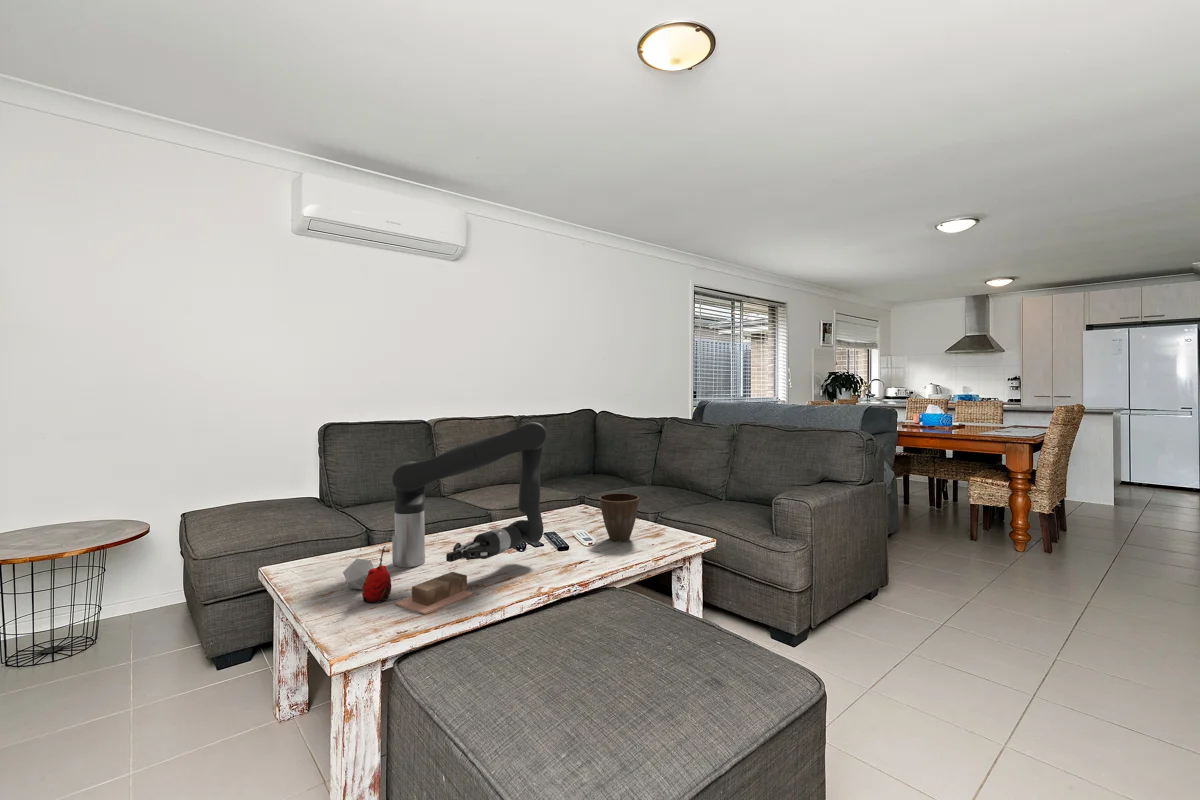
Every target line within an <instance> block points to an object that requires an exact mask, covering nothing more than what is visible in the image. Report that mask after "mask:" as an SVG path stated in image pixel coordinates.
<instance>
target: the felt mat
mask: <svg viewBox="0 0 1200 800" xmlns="http://www.w3.org/2000/svg"><path fill="white" fill-rule="evenodd" d="M472 593H473V592H471V591H467V590H465V591H462V592H460V593H457V594H455V595H453V596H450V597H448V598H445V599H443V600H441V601H438V602H436V603H433V604H431V605H429V606H425V605H422V604H419V603H416V602H413V601H412V596H409V597H407V598H404V599H401V600H399V601H396V602H395V603H394V604H395V605H396V606H398V607H401V608H403V609H407V610H409V611H413V612H415V613H418V614H422V615H424V616H425V615H428V614H430V613H432V612H435V611H437V610H440V609H442V608H444V607H446V606H448V605H449V606H450V605H451V604H454V603H456V602H458V601H460V600H463V599H465V598H467V597H470V596H472V595H473V594H472Z"/></svg>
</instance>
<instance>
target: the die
mask: <svg viewBox="0 0 1200 800" xmlns="http://www.w3.org/2000/svg"><path fill="white" fill-rule="evenodd" d="M372 562H373V561H372V560H370V559H363V558H356V559H354V561H353V562H352V563H350V565H348V566H347V567H346V569H344V571H342V574H343V576H344V578H345V581H346V582H347V585H348V587H349V589H355V590H360V591H361V590H362V591H363V589H362V586H363V584H364V581H365V579H366V577H367V575H368V571H369V570H370V569H374V568H375V567H374V565H373V563H372Z"/></svg>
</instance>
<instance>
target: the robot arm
mask: <svg viewBox="0 0 1200 800" xmlns="http://www.w3.org/2000/svg"><path fill="white" fill-rule="evenodd" d="M546 440H547V430H546V428H545V427H544V425H542V424H541V423H538V422H535V421H531V422H527V423H524V424H523V425H520V426H519V427H516V428H514V429H511V430H508V431H506V432H503V433H500V434H496V435H492V436H488V437H484V438H479V439H476V440H473V441H470V442H466V443H464V444H460V445H457V446H454V447H453V448H451V449H449V450H446V451H444V452H442V453H440V454H438V455H437V456H434V457H431V458H428V459H424V460H422V461H412V460H409V461H405V462H403V463H401V464H400V465H398V466H397V468H395V470H394V471H393V474H392V477H391V482H392V485H393V486H394V488H395V500H394V506H393V507H394V535H392V536H391V544H392V545H391V548H392V549H391V551H392V555H391V556H392V558H391V559H392V566H395V567H399V568H412V567H413V568H414V567H418V566H421V565H423V564H424V563H425V562H426V559H425V558H426V550H425V549H426V547H425V546H426V544H425V543H426V541H425V539H426V538H425V536H426V535H425V534H426V533H425V530H426V529H425V501H426V486H427V485H429V484H432V483H433V482H436V481H439V480H442V479H446V478H451V477H455V476H457V475H462V474H465V473H469V472H472V471H476V470H478V469H481V468H483V467H486V466H489V465H491V464H493V463H495V462H497V461H499V460H501V459H503V458H505V457H506V456H509V455H513V454H516V453H519V452H521V472H520V473H521V474H520V481H519V488H518V506H517V507H518V511H519V512H520V513H523V514H525V515H526V518H527V519H520V520H516V521H513V522H512V523H510V524H509V525H507V526H504V527H501V528H495V529H491V530H488V531H486V532H482V533H479V534H477V535H476V536H475V537H474V539H473V540H471V541H468V542H466V543H465V544H462V543H461V542H456V543H455V545H454V546H453V550H452V551H451V552H448V553H446V554H445V559H446V562H449V563H452V562H455V561H459V560H462V561H463V560H466V561H469V560H472V561H473V560H479V559H481V560H487V559H489V558H492V557H495V556H498V555H499V554H502V553H504V552H506V551H509V550H512V549H514V548H516V547H518V546H519V545H520V544H521V543H522V542H523V543H532V544H533V543H535V544H536V543H538V542H539V541H540V540H542V538H543V534H544V523H543V519H542V514H541V513H542V512H541V510H540V509H541V508H540V503H541V501H540V500H541V460H542V454H543V449H544V445H545V443H546Z"/></svg>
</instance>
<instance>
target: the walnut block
mask: <svg viewBox="0 0 1200 800" xmlns="http://www.w3.org/2000/svg"><path fill="white" fill-rule="evenodd" d="M467 590H468V576H467V575H466V574H463V573H459V572H456V571H450V572H448V573H444V574H442V575H439V576H437V577H434V578H431V579H429V580H426V581H424V582H420V583H418V584H417V583H416V584H415V585H412V586H411V597H412V601H413V602H416V603H419V604H422V605H425V606H429V605H431V604H433V603H436V602H438V601H441V600H443V599H445V598H448V597H450V596H453V595H455V594H457V593H460V592H462V591H467Z"/></svg>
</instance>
